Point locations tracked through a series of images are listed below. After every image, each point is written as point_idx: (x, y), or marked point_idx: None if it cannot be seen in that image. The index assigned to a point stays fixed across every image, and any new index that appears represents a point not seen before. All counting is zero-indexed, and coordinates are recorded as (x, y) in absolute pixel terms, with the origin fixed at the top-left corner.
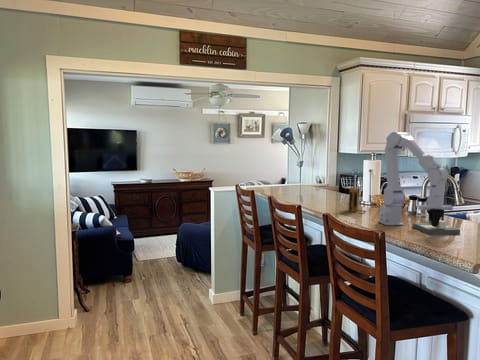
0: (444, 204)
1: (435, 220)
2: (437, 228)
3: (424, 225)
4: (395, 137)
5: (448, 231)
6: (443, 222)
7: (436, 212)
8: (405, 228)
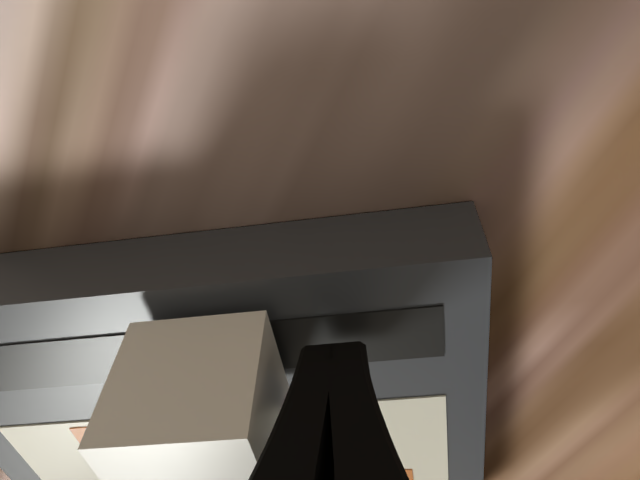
0: None
1: (366, 461)
2: None
3: None
4: None
5: (92, 275)
6: (148, 429)
7: None
8: (616, 449)
